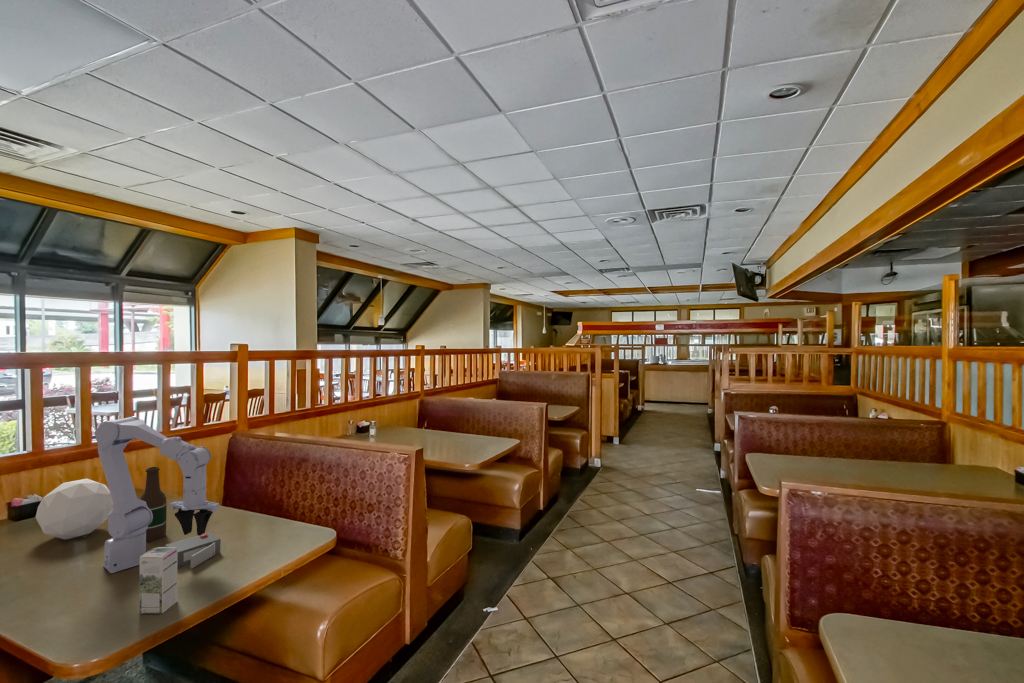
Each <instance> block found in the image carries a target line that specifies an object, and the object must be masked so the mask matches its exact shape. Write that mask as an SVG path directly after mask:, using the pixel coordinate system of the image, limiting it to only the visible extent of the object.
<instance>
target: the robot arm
mask: <svg viewBox="0 0 1024 683" xmlns="http://www.w3.org/2000/svg"><path fill="white" fill-rule="evenodd" d="M93 433H94V436H95V439H96V443H97V454H98V457H99V459H100V462H101V466H102V470H103V473H104V476H105V480H106V483H107V488H108V489H109V491H110V494H111V497H112V500H113V509H112V510H111V512H110V513H109V514H108V516H107V520H108V525H107V531H108V533H109V535H110V536H111V538H109V539H107V540H105V541H104V546H103V548H104V551H103V554H104V556H103V558H104V559H103V567H104V568H105V570H107V571H108V572H109V573H110V574H114V573H117V572H120V571H124V570H127V569H131V568H133V567H136V566H140V561H139V560H140V556H142V555H143V554H145V553H146V552H147V542H146V530H147V529H148V525H149V524H150V523H151V522H152V520H153V514H152V511H151V510H150V509H149V508H148V506H147V504H146V502H145V501H143V500H140V498H138V496H137V493H136V489H135V486H134V483H133V480H132V476H131V473H130V469H129V466H128V463H127V460H126V456H125V453H124V452H125V451H124V449H125V448H126V447H127V445H128V444H129V443H130V442H132V441H133V440H134V439H136V440H140V441H142V442H144V443H147V444H149V445H150V446H151V445H152V446H153V447H157V448H159V453H160V454H161V455H163V456H165V457H167V458H168V459H170V460H172V461H175V462H177V465H178V467H179V468H180V470H181V474H182V476H183V477H182V479H183V481H182V482H183V484H182V485H183V488H182V490H183V491H182V500H181V501H180V500H179V501H177V500H176V501H173V502H170V503H169V510H170V511H173V510H177V512H175V513H174V517H175V518H176V519H177V520H178V522H179V524H180V526H181V529H182V533H183V535H184V536H186V535H189V534H191V533H192V530H193V520H195V523H196V534H197V535H198V536H200V535H202V534H204V533H206V530H207V526H208V523H209V520H210V518H211V516H212V515H213V513H215V512H217V511H219V510H220V503H219V502H214V501H213V502H212V501H210V500H209V501H208V500H207V465H208V464H209V463H210V461H211V458H212V454H211V452H210V450H209V449H208V448H207V447H205V446H198V447H197V446H195V445H194V444H190V443H189V442H186V441H184V440H182V437H180V436H172V437H168V436H165V435H164V434H162V433H160V432H159V431H157V430H156V429H154V428H153V427H151V426H149V425H148V424H146V421H145V420H144V419H141V418H139V417H137V416H128V417H125V418H118V419H113V420H106V421H103V422H100V423H99V425H98V427H97V428H96V429H95V431H94V432H93ZM195 511H196V512H195ZM197 511H198V512H197Z"/></svg>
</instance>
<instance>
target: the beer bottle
mask: <svg viewBox="0 0 1024 683" xmlns="http://www.w3.org/2000/svg"><path fill="white" fill-rule="evenodd" d="M160 470H161V469H160V467H159V466H151V467H148V468H146V470H145V472H146V478H145V487H144V488H145V489H144V493H142V495H141V496H140V498H139V499H140V500H143V501H145V502H146V504H147V506H148V508H149V509H150V510H151V511H152V514H153V520H152V522H151V523H150V524H149V525H148V529H147V530H146V543H147V542H153V541H156V540H158V539H162V538H163V537H164V536H166V535H167V534H166V533H167V510H168V508H167V503H168V502H167V496H166V494H165V493H164V492H163V491H162V490H161V487H160V486H161V485H160V473H159V471H160Z"/></svg>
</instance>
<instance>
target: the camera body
mask: <svg viewBox="0 0 1024 683" xmlns="http://www.w3.org/2000/svg"><path fill="white" fill-rule="evenodd" d="M214 542H215V555H214V556H216V555H218V554H220V553H221V538H220V537H218V536H216V535H215V534H213V533H211V532H210V531H208V532H205V533H204V534H202V535H200V536H198V535H194V536H191V537H187V538H184V539H181V540H176V541H172V542H169V543H166V544H164V547H177V554H178V556H177V568H179V567H182V566H185V565H188V564H189V565H190V564H191V556H192V555H194V554H195V553H197V552H199V551H201V550H202V549H204V548H206V547H207V546H209V545H211V544H212V543H214Z"/></svg>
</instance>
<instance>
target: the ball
mask: <svg viewBox="0 0 1024 683" xmlns="http://www.w3.org/2000/svg"><path fill="white" fill-rule="evenodd" d="M113 508H114V504H113V500H112V497H111V494H110V490H109V487H108V485H106V484H104V483H101V482H98V481H95V480H92V479H90V478H83V479H82V478H81V479H77V480H72V481H71V480H70V481H66V482H62V483H61V484H59V485H58V486H57V487H55V488H54V489H53V490H51V491H50V492H49V493H47V494H46V495H45V496H43V497H42V499H41V501H40V503H39V504H38V506H37V510H36V514H35V520H36V521H37V523H38V525H39V528H40V529H41V531H42V532H43V534H44V535H47V536H50V537H51V536H52V537H54V538H57V539H61V540H64V541H65V540H66V539H67V540H70V539H74V538H78V537H81V536H85V535H89V534H91V533H92V532H94V531H95V530H96V529H97V528H99V527H100V526H102V524H104V523H105V522H106V521H107V520H108V518H107V516H108V514H109V513H110V512H111V510H112V509H113Z"/></svg>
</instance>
